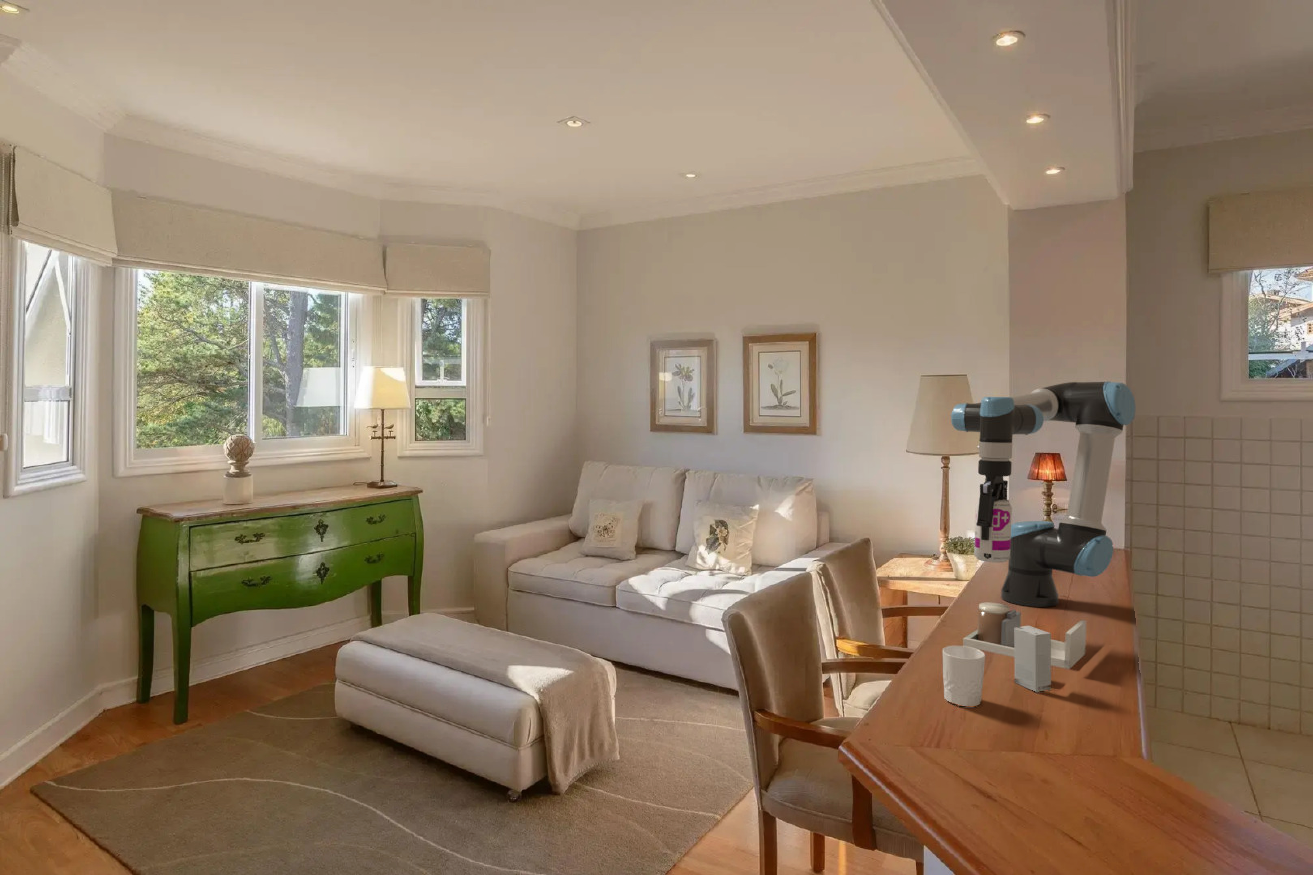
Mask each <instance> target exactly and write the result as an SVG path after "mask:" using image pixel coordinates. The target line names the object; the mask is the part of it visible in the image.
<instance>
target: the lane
mask: <svg viewBox="0 0 1313 875" xmlns="http://www.w3.org/2000/svg"><path fill="white" fill-rule="evenodd" d="M977 634H978V628H977V629H976V630H974V631H972V632H971V633H970V634H968V635H966V636H965V637H963V639H962V646H967V647H972V648H976V649H978V650H981V651H985V652H989V653H992V654H998V655H1002V656H1006V657H1012V658H1015V649H1014V646H1013V647H1007V646H1003V645H998V644H993V643H988V642H984V641H979V640H977ZM1064 635H1065V636H1064V637H1065V639H1064V641H1060V640H1056V639H1051V667H1057V668H1062V669H1066V670H1071V668H1073V666H1075V665H1076V663H1078V662H1079V660H1080V659H1082V658H1083V657H1084V656H1085V655H1086V640H1087V637H1086V636H1087V620H1084V619H1081V620H1080V621H1078V622H1077V623H1076V624H1074V626H1072V627H1071V628H1070V629H1068V631H1066V632H1065V634H1064Z"/></svg>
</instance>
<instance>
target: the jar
mask: <svg viewBox="0 0 1313 875" xmlns="http://www.w3.org/2000/svg"><path fill="white" fill-rule="evenodd" d="M1010 611H1011V610H1010V607H1009V606H1008V605H1006V604H1003V603H999V602H990V601H989V602H988V601H987V602H981V603H979V604H978V608H977V629H978V634H977V640H979V641H984V642H988V643H993V644H998V645H1001V629H1002V621H1003V620H1005V619H1006V618H1007V613H1008V612H1010Z"/></svg>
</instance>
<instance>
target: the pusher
mask: <svg viewBox="0 0 1313 875" xmlns="http://www.w3.org/2000/svg"><path fill="white" fill-rule="evenodd" d="M1009 611H1010V612H1008V613H1007V618H1006V619H1005V620H1003V621H1002V629H1001V645H1003V646H1007V647H1013V646H1014V628H1016V627H1021V623H1022V618H1021V616H1022V612H1020V611H1017V610H1016V609H1012V610H1009Z"/></svg>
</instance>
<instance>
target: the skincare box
mask: <svg viewBox="0 0 1313 875" xmlns="http://www.w3.org/2000/svg"><path fill="white" fill-rule="evenodd" d="M1051 640H1052V633H1050V632H1048V631H1045V630H1042V629H1039V628H1036V627H1033V626H1031V625H1024V626H1020V627H1016V628H1014V649H1015V657H1014V683H1015V684H1017V685H1018V686H1020V687H1024V688H1025V689H1029V691H1032V690H1033V691H1032V692H1034V691H1035V693H1040V692H1039V691H1044V692H1046V691H1045V690H1049V691H1051V690H1052V687H1051V686H1052V665H1051ZM1050 689H1051V690H1050Z"/></svg>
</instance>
